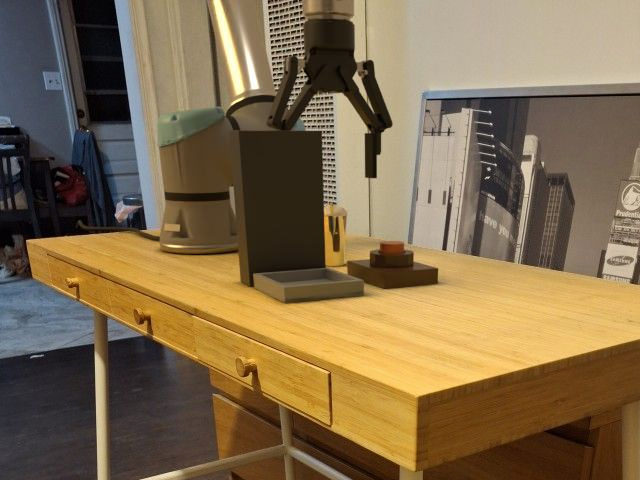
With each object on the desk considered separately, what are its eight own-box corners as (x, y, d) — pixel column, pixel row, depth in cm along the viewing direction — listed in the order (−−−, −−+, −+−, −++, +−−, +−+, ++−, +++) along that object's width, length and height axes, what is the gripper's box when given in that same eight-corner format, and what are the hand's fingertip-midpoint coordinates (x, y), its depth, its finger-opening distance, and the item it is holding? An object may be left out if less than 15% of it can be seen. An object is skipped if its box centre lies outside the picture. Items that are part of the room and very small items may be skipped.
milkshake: (318, 267, 123) (316, 201, 119) (322, 262, 128) (320, 198, 123) (346, 267, 123) (345, 201, 118) (348, 262, 128) (348, 199, 123)
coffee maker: (240, 282, 111) (228, 130, 102) (315, 275, 116) (310, 130, 107) (283, 303, 98) (274, 131, 89) (365, 295, 103) (364, 131, 94)
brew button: (375, 254, 113) (375, 241, 112) (396, 252, 114) (396, 240, 114) (387, 257, 110) (387, 244, 109) (408, 255, 112) (408, 243, 111)
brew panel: (347, 275, 117) (346, 248, 115) (397, 271, 120) (398, 244, 119) (384, 288, 107) (384, 259, 105) (438, 283, 111) (439, 255, 109)
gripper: (256, 10, 102) (267, 182, 111) (415, 22, 112) (412, 178, 122) (238, 17, 107) (249, 179, 117) (390, 28, 118) (390, 176, 128)
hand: (332, 179), depth 119 cm, fingers open, 13 cm apart
